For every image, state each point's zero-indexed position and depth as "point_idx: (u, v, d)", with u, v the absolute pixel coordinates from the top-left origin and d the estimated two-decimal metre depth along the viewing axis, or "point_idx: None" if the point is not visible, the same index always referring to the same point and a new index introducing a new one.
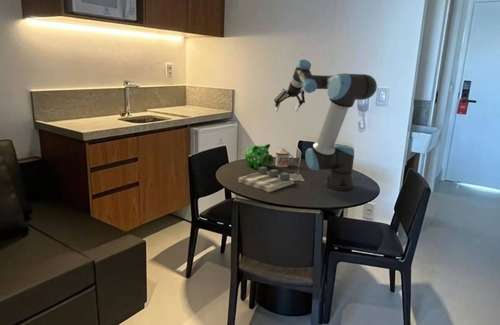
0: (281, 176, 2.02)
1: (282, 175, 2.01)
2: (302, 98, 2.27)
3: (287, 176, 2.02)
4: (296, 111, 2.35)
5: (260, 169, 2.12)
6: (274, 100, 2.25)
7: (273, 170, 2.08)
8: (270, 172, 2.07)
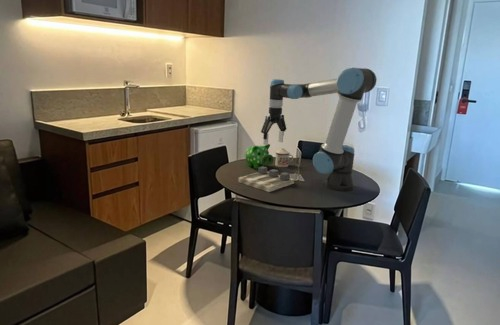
0: (281, 176, 2.02)
1: (282, 175, 2.01)
2: (283, 124, 2.18)
3: (287, 176, 2.02)
4: (282, 141, 2.20)
5: (260, 169, 2.12)
6: (262, 131, 2.07)
7: (273, 170, 2.08)
8: (270, 172, 2.07)
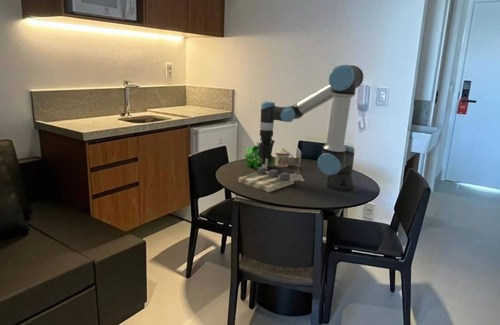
0: (281, 176, 2.02)
1: (282, 175, 2.01)
2: (270, 149, 2.13)
3: (287, 176, 2.02)
4: (266, 169, 2.14)
5: (259, 169, 2.11)
6: (260, 157, 2.10)
7: (273, 170, 2.08)
8: (270, 172, 2.07)
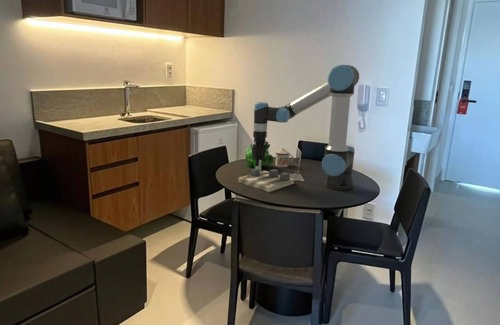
0: (281, 176, 2.02)
1: (282, 175, 2.01)
2: (264, 151, 2.09)
3: (287, 176, 2.02)
4: (260, 171, 2.10)
5: (252, 171, 2.07)
6: (254, 158, 2.06)
7: (273, 170, 2.08)
8: (270, 172, 2.07)
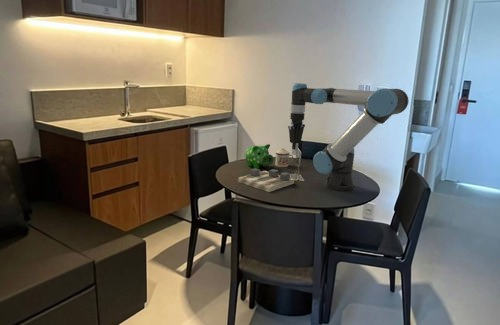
0: (281, 176, 2.02)
1: (282, 175, 2.01)
2: (300, 134, 2.05)
3: (287, 176, 2.02)
4: (296, 154, 2.05)
5: (252, 171, 2.07)
6: (291, 141, 2.01)
7: (273, 170, 2.08)
8: (270, 172, 2.07)
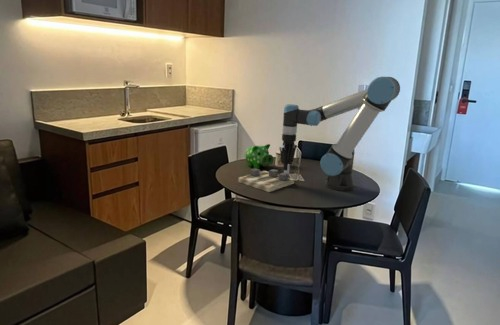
0: (280, 176, 2.01)
1: (281, 175, 2.01)
2: (292, 154, 2.03)
3: (286, 176, 2.01)
4: (288, 175, 2.03)
5: (252, 171, 2.07)
6: (282, 162, 2.00)
7: (273, 170, 2.08)
8: (270, 172, 2.07)
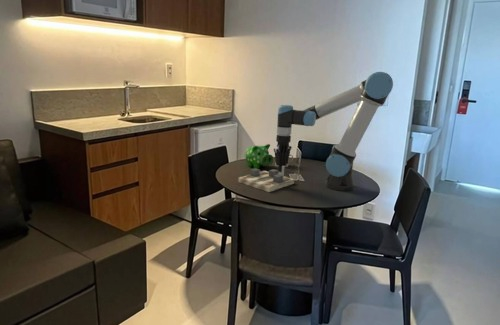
0: (274, 178, 1.98)
1: (275, 177, 1.97)
2: (287, 156, 2.00)
3: (280, 178, 1.97)
4: (283, 177, 2.00)
5: (252, 171, 2.07)
6: (277, 164, 1.96)
7: (273, 170, 2.08)
8: (270, 172, 2.07)
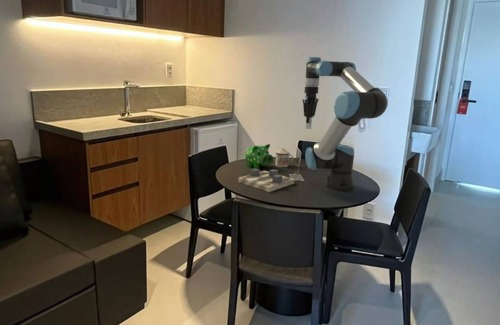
0: (273, 178, 1.97)
1: (274, 177, 1.97)
2: (314, 108, 2.08)
3: (279, 178, 1.97)
4: (310, 128, 2.08)
5: (252, 171, 2.07)
6: (305, 115, 2.04)
7: (273, 170, 2.08)
8: (270, 172, 2.07)
